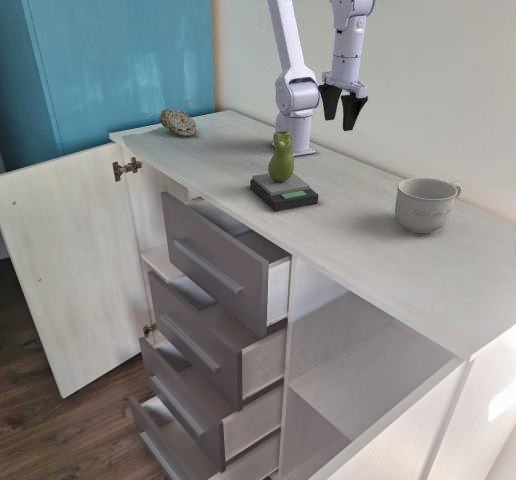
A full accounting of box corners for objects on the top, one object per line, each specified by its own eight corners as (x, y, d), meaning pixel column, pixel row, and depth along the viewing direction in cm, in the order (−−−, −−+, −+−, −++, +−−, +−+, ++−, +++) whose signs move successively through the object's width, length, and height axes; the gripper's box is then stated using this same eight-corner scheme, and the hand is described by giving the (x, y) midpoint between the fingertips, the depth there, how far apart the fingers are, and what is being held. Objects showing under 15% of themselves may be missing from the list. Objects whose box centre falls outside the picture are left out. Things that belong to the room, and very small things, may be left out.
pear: (295, 185, 105) (299, 135, 98) (269, 186, 104) (272, 136, 97) (289, 174, 109) (293, 126, 102) (265, 175, 108) (267, 127, 102)
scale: (250, 188, 110) (250, 175, 108) (290, 181, 113) (291, 169, 111) (274, 211, 101) (275, 198, 100) (317, 203, 105) (319, 190, 103)
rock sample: (178, 127, 127) (171, 95, 128) (160, 142, 132) (154, 112, 133) (209, 137, 134) (202, 107, 135) (191, 151, 139) (184, 122, 140)
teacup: (406, 242, 93) (417, 201, 88) (380, 216, 101) (388, 177, 96) (471, 234, 97) (485, 194, 91) (440, 209, 104) (451, 171, 99)
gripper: (312, 49, 106) (306, 117, 115) (349, 64, 96) (340, 137, 105) (340, 47, 109) (333, 114, 117) (380, 61, 99) (368, 133, 107)
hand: (338, 124), depth 111 cm, fingers open, 7 cm apart
